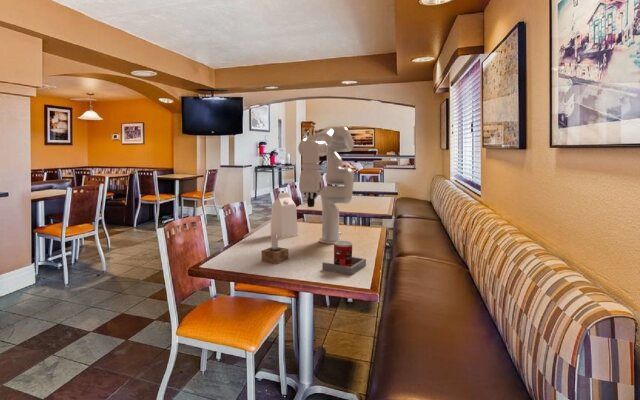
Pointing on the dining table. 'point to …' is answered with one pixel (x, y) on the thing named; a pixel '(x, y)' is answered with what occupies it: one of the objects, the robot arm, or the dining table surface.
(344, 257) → the canned food
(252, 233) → the dining table surface
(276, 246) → the pin
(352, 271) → the tray
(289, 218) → the milk
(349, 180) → the robot arm
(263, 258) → the block
